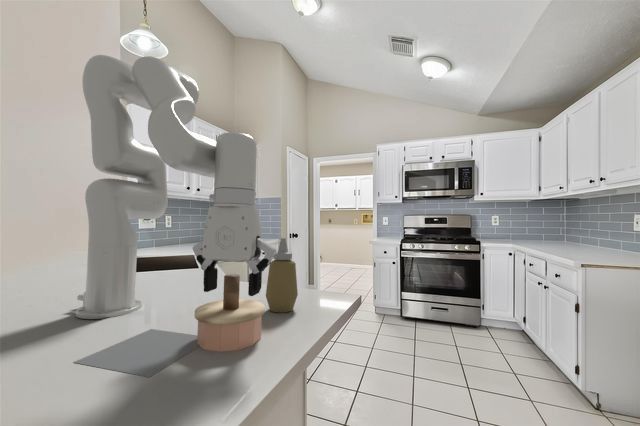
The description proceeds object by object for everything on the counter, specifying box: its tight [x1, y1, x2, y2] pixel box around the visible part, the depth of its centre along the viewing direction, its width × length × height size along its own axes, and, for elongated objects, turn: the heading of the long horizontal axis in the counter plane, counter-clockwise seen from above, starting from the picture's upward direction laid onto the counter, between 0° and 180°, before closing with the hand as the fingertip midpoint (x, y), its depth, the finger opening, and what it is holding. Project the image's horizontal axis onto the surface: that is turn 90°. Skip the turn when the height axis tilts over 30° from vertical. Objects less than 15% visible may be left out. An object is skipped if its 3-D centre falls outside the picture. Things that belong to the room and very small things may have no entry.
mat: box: [73, 328, 201, 378], centre depth 47 cm, size 14×14×1 cm
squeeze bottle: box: [265, 237, 299, 313], centre depth 71 cm, size 8×8×18 cm
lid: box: [194, 273, 266, 324], centre depth 52 cm, size 12×12×7 cm
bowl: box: [197, 315, 263, 353], centre depth 52 cm, size 11×11×5 cm
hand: (231, 292), depth 52 cm, fingers open, 8 cm apart
